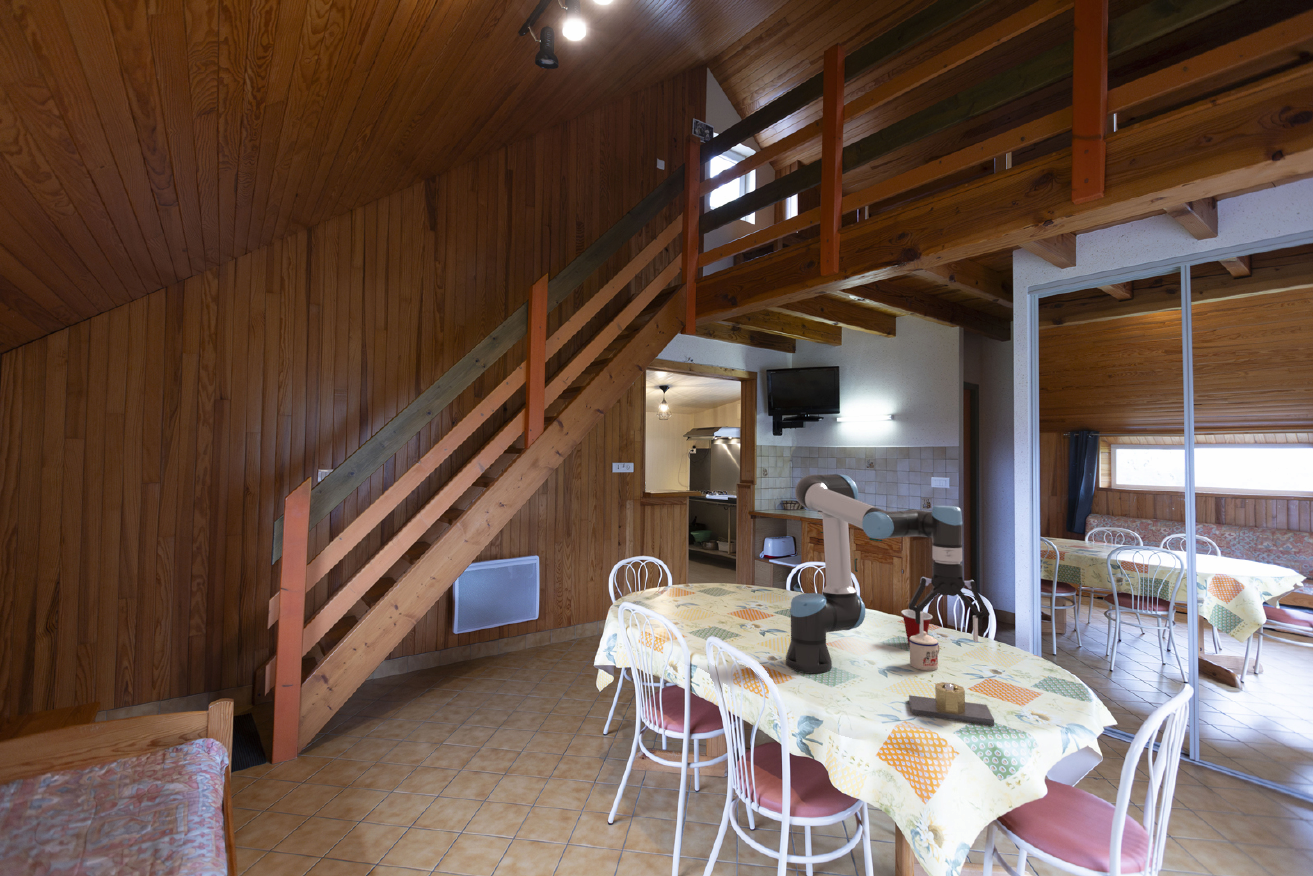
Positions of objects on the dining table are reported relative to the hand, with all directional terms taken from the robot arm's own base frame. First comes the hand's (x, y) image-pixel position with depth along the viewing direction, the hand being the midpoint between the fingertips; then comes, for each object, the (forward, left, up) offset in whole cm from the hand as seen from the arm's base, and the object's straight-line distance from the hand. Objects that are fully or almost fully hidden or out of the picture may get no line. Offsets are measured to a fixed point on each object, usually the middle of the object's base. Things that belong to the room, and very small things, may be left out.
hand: (948, 638), depth 164 cm
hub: (0, -1, -19) cm, 19 cm away
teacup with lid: (-2, +38, -21) cm, 43 cm away
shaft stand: (0, 0, -20) cm, 20 cm away
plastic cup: (-3, +61, -21) cm, 64 cm away
